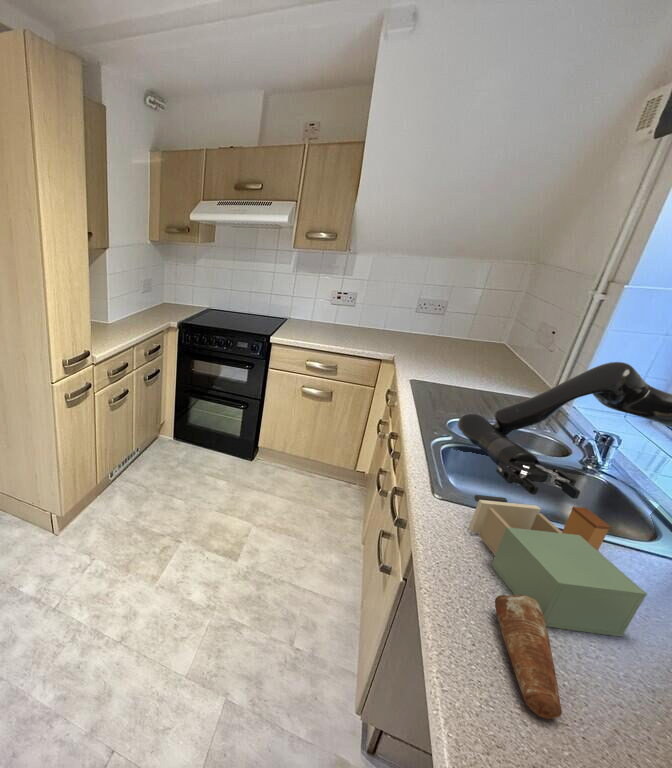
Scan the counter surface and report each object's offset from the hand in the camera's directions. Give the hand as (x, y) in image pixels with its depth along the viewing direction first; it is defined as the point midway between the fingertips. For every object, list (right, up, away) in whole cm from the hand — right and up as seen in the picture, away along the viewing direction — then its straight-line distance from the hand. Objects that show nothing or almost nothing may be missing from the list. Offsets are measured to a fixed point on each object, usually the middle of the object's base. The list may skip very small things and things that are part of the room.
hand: (556, 493), depth 95 cm
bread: (-34, -19, -31) cm, 49 cm away
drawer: (-17, -9, -7) cm, 21 cm away
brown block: (-2, -10, -6) cm, 12 cm away
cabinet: (-19, -14, -19) cm, 31 cm away
